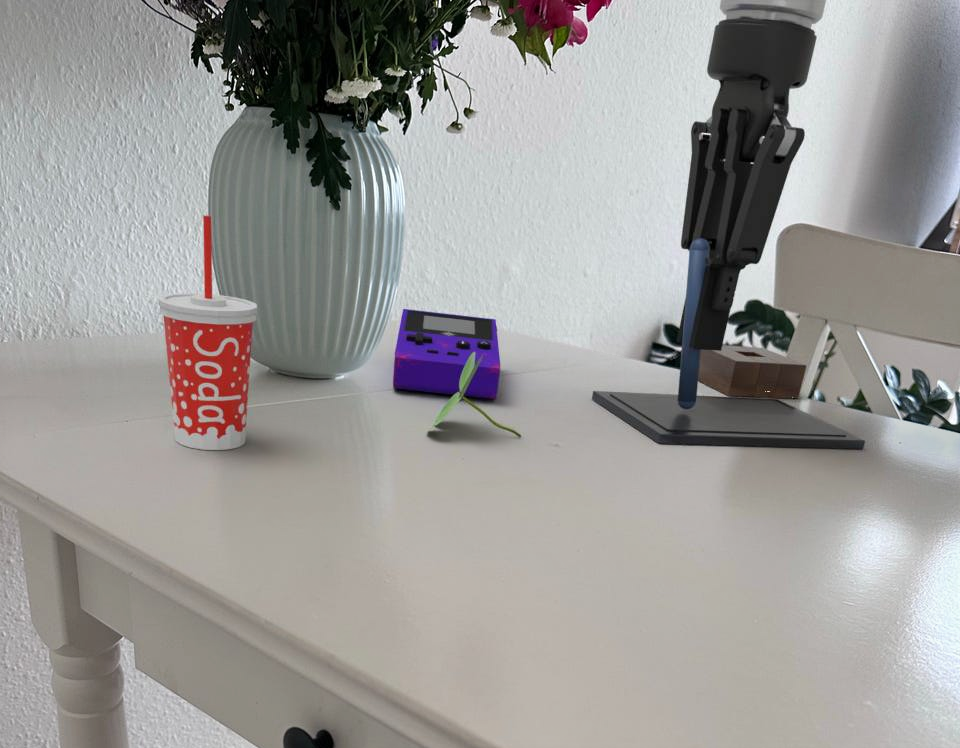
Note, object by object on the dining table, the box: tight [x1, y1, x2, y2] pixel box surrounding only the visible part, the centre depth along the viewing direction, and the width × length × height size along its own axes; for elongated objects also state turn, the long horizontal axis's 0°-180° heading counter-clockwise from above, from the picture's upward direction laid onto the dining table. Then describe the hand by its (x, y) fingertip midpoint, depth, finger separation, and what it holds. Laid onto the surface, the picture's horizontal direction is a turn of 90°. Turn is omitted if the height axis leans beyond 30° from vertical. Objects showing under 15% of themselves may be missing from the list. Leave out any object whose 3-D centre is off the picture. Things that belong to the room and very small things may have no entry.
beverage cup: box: [157, 214, 258, 451], centre depth 62 cm, size 6×6×14 cm
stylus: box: [677, 238, 710, 409], centre depth 81 cm, size 2×2×14 cm
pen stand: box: [698, 344, 808, 399], centre depth 102 cm, size 8×8×4 cm
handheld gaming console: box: [392, 308, 501, 400], centre depth 89 cm, size 9×5×15 cm
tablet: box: [591, 390, 866, 450], centre depth 86 cm, size 20×14×1 cm
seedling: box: [428, 352, 522, 438], centre depth 74 cm, size 7×8×7 cm
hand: (698, 345), depth 82 cm, fingers closed on stylus, 1 cm apart
